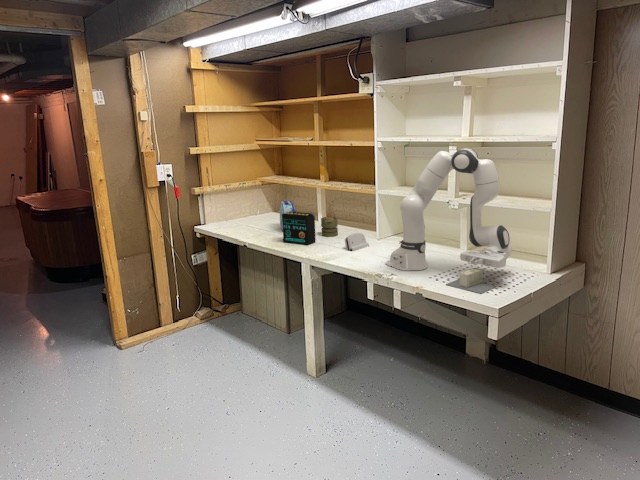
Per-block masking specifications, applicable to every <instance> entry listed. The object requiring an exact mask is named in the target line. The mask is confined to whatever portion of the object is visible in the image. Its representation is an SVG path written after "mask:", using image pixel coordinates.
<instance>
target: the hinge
mask: <svg viewBox="0 0 640 480" xmlns="http://www.w3.org/2000/svg"><path fill="white" fill-rule="evenodd" d="M344 243H345V249H346V251H350V250H352V252H355V251H358V250H362V249H365V248H368V247H370V245H369V242H367V240H366V237H365V234H364V233H361V232H360V233H359V232H357V233H353V234H350V235H348V236H347V237H346V238H345V239H344ZM367 246H368V247H367Z"/></svg>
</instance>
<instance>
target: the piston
mask: <svg viewBox="0 0 640 480" xmlns="http://www.w3.org/2000/svg"><path fill="white" fill-rule="evenodd" d="M320 223H321V225H320V227H321V228H320V229H321V237H325V238H332V237H333V238H334V237H338V236H339V233H338V232H339V230H338V229H339V228H338V225H339V223H338V216H337V217H336V216H334V217H333V219H327V217H326V216H323V217H320Z"/></svg>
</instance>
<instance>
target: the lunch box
mask: <svg viewBox="0 0 640 480" xmlns="http://www.w3.org/2000/svg"><path fill="white" fill-rule="evenodd" d="M290 211H293V212H297V210H296V207H295V205H294V203H293V202H292V201H291V200H283V201H280V203H279V227H280V228H281V230H282V231H283V221H282V214H284V213H285V214H286V213H287V212H290Z"/></svg>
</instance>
